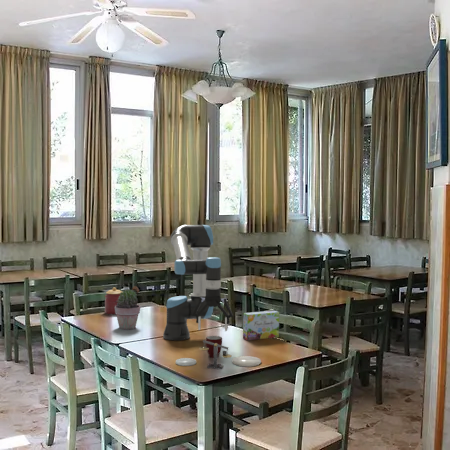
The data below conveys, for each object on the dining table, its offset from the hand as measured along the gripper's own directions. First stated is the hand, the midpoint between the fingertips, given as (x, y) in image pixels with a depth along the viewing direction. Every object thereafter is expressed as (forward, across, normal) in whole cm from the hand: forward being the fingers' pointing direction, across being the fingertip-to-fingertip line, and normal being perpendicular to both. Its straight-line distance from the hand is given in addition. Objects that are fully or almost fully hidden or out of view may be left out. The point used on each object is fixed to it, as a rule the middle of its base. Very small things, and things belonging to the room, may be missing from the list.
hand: (212, 330), depth 290 cm
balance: (+14, +4, -17) cm, 22 cm away
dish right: (+14, +18, -7) cm, 24 cm away
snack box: (+14, +22, +44) cm, 51 cm away
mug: (+14, 0, 0) cm, 14 cm away
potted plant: (+13, -61, +54) cm, 83 cm away
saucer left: (+14, -11, -13) cm, 22 cm away
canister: (+12, -83, +98) cm, 129 cm away
